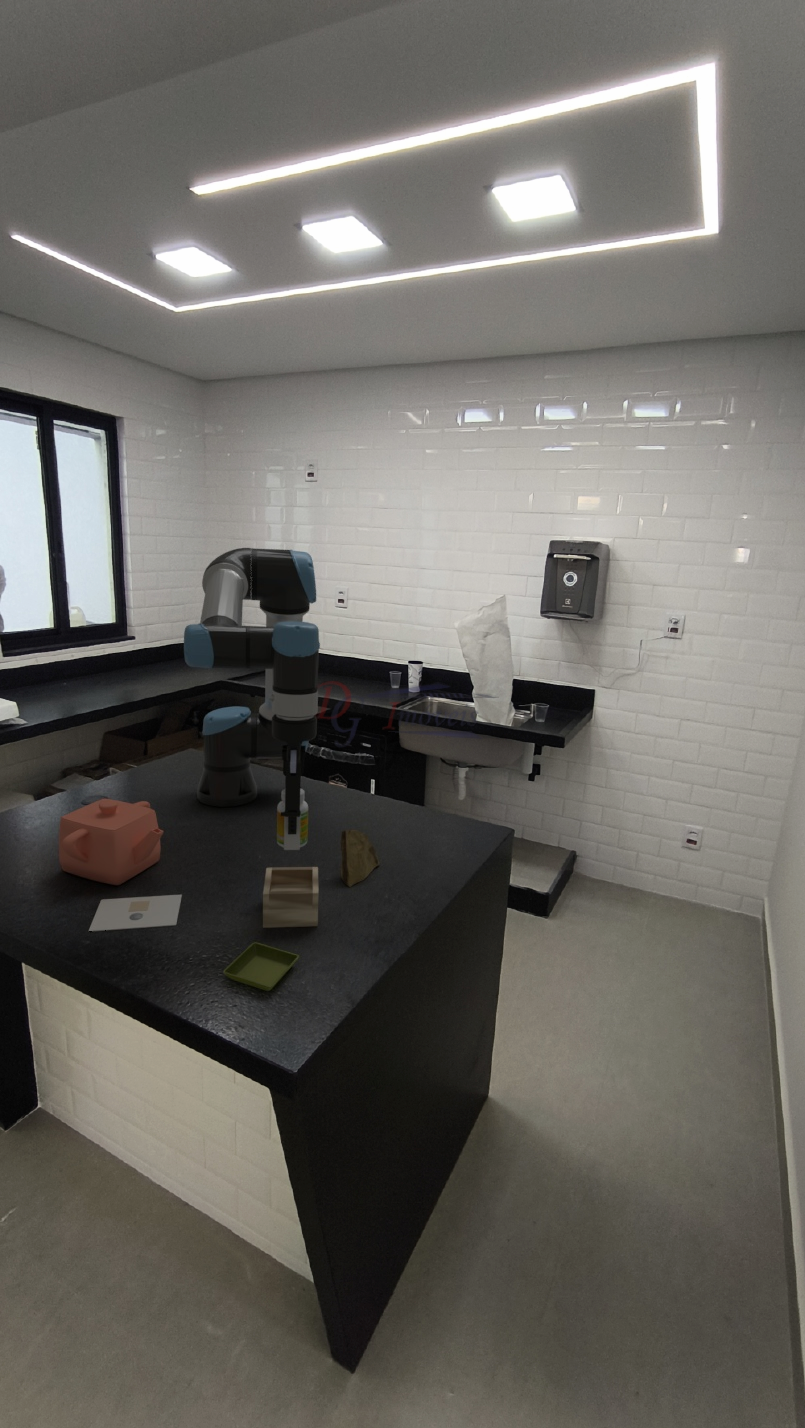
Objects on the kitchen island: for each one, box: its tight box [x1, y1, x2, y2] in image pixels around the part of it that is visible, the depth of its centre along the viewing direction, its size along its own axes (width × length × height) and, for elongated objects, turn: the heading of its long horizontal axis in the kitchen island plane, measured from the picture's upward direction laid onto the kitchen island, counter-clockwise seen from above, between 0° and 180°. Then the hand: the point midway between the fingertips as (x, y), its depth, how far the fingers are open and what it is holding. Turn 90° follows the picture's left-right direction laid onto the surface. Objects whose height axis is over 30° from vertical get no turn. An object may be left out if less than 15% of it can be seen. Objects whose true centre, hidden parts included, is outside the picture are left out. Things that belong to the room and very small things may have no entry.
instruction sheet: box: [88, 894, 183, 932], centre depth 115 cm, size 10×14×1 cm
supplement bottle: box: [276, 788, 309, 848], centre depth 113 cm, size 5×5×10 cm
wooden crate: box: [262, 866, 320, 929], centre depth 117 cm, size 10×10×6 cm
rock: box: [340, 829, 380, 888], centre depth 132 cm, size 11×9×10 cm
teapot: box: [58, 798, 165, 886], centre depth 127 cm, size 20×22×14 cm
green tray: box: [222, 942, 300, 992], centre depth 101 cm, size 9×9×2 cm
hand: (292, 840), depth 114 cm, fingers closed on supplement bottle, 5 cm apart
